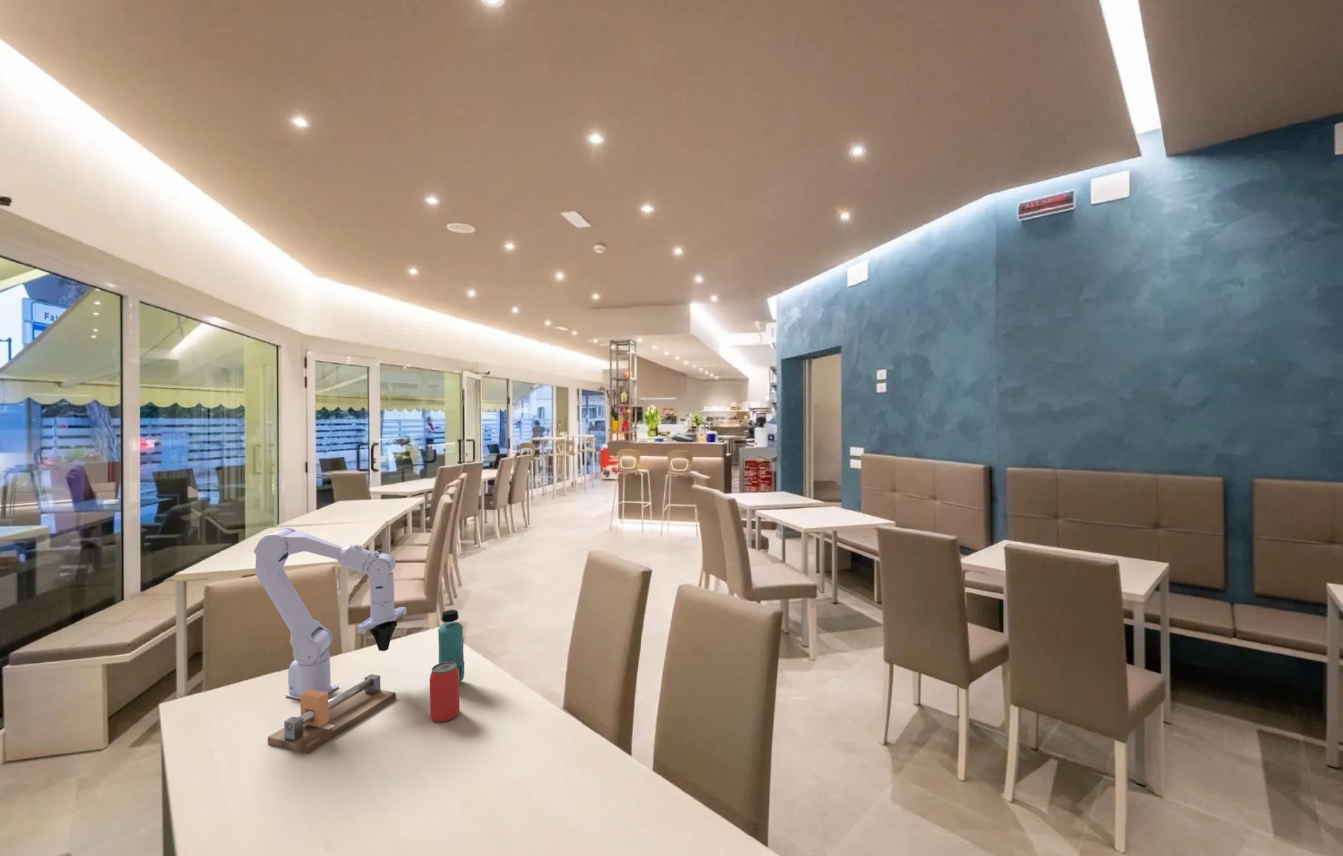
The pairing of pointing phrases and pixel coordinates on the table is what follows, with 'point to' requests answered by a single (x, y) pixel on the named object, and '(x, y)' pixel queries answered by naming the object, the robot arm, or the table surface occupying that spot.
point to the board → (335, 721)
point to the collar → (315, 706)
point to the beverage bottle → (451, 641)
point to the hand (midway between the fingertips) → (383, 649)
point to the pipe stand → (330, 706)
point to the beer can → (444, 692)
